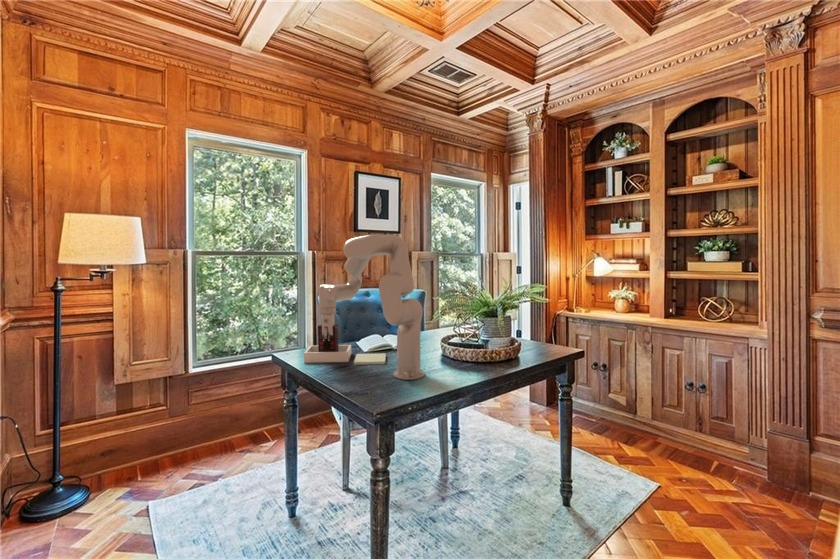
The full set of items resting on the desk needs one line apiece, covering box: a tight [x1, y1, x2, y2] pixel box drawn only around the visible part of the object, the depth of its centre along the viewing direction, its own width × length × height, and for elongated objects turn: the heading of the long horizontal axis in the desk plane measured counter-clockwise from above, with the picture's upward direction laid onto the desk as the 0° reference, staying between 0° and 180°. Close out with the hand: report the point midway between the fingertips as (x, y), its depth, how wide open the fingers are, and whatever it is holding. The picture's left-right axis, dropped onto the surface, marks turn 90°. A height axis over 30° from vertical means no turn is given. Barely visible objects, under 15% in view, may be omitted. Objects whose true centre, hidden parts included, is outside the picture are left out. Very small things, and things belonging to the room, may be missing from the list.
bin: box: [303, 344, 352, 364], centre depth 193 cm, size 14×20×4 cm
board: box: [353, 352, 387, 366], centre depth 190 cm, size 14×14×1 cm
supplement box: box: [317, 323, 339, 352], centre depth 193 cm, size 9×5×16 cm, turn 84°
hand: (328, 347), depth 193 cm, fingers open, 8 cm apart
